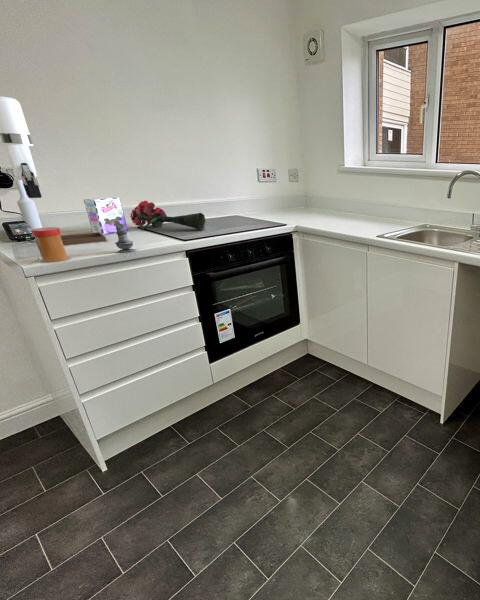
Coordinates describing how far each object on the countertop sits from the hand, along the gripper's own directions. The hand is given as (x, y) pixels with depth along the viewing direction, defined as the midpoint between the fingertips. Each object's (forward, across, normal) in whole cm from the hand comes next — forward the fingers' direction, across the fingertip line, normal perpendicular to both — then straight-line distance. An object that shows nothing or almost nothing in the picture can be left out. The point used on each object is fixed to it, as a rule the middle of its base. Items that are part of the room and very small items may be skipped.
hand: (34, 196), depth 118 cm
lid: (+11, 0, 0) cm, 11 cm away
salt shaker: (+22, 0, +21) cm, 31 cm away
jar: (+22, 0, 0) cm, 22 cm away
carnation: (+22, -43, +49) cm, 69 cm away
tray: (+22, -33, +11) cm, 41 cm away
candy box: (+22, -49, +24) cm, 59 cm away
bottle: (+22, -44, -2) cm, 49 cm away
